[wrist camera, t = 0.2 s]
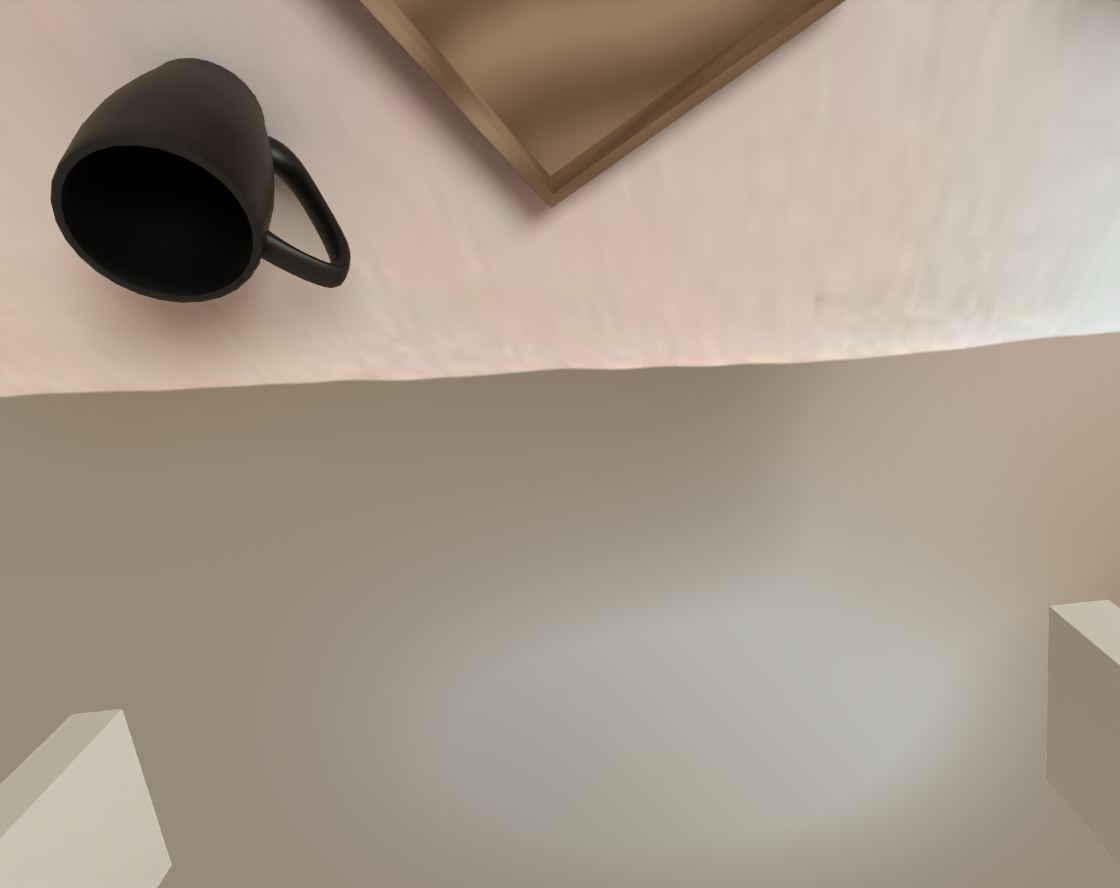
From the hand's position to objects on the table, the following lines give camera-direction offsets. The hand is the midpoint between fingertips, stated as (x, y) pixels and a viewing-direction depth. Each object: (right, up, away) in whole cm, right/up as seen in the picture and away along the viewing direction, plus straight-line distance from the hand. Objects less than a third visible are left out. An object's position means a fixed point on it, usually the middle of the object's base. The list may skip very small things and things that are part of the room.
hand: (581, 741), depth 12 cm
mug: (-16, +20, +30) cm, 40 cm away
